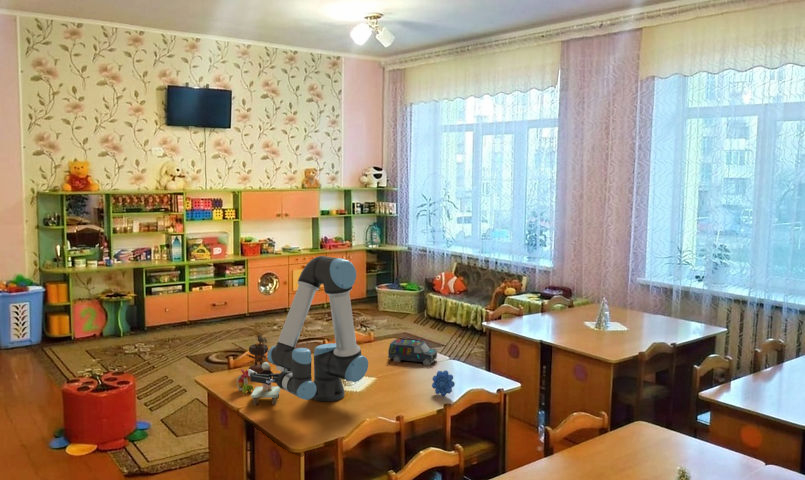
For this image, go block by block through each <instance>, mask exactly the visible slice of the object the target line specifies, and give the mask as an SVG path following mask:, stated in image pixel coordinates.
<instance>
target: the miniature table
mask: <svg viewBox="0 0 805 480" xmlns="http://www.w3.org/2000/svg"><path fill="white" fill-rule="evenodd" d="M271 387H272V391H268V389H266V390H267V392H263V391H262V390H263V385H262V386H255V388H253V389H254V391H253V390H252V393H251V394H250V398H252V405H253V406H257V405H258V399H261V398H265V399H266V398H271V404H272V405H273V406H276V405H277V399H279V398H280V392H281V388H280V387H279V386H278V385H277V386H273V385H271Z"/></svg>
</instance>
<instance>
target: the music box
mask: <svg viewBox="0 0 805 480" xmlns="http://www.w3.org/2000/svg"><path fill="white" fill-rule="evenodd" d="M257 342H258V343H256V342H255V343H254V344H251V345H250V346H249V347H248V352H249V354H246V356H248V357H249V358H251V359H253V360H254V364H252V365H250V366H249V367H248V369H250V370H252V371H254V372H256V373H257V374H260V373H261V372H262V371H264V370H263V368H262V364H263V363H264V362H267V361H266V360H265V359H266V358H267V353H268V351H269V346H268V345H267V344H269V342H268V340H267V338H265V336H263V334H260V333H259V334H258V335H257ZM268 370H270V371H272V370H271V366H270V365H269V368H268Z"/></svg>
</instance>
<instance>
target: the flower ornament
mask: <svg viewBox="0 0 805 480" xmlns="http://www.w3.org/2000/svg"><path fill="white" fill-rule="evenodd" d="M241 372H242V374H240V375H239V376H237V379H236V386H237V389H238V392H242V393H243V394H244V395H246V393H247V392H251V391H252V392H253V391H254V389H255V388H254V386H253V385H252V384H249V381H248V378H251V377H250V376H248V369H246V370H245V369H243V368H241Z"/></svg>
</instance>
